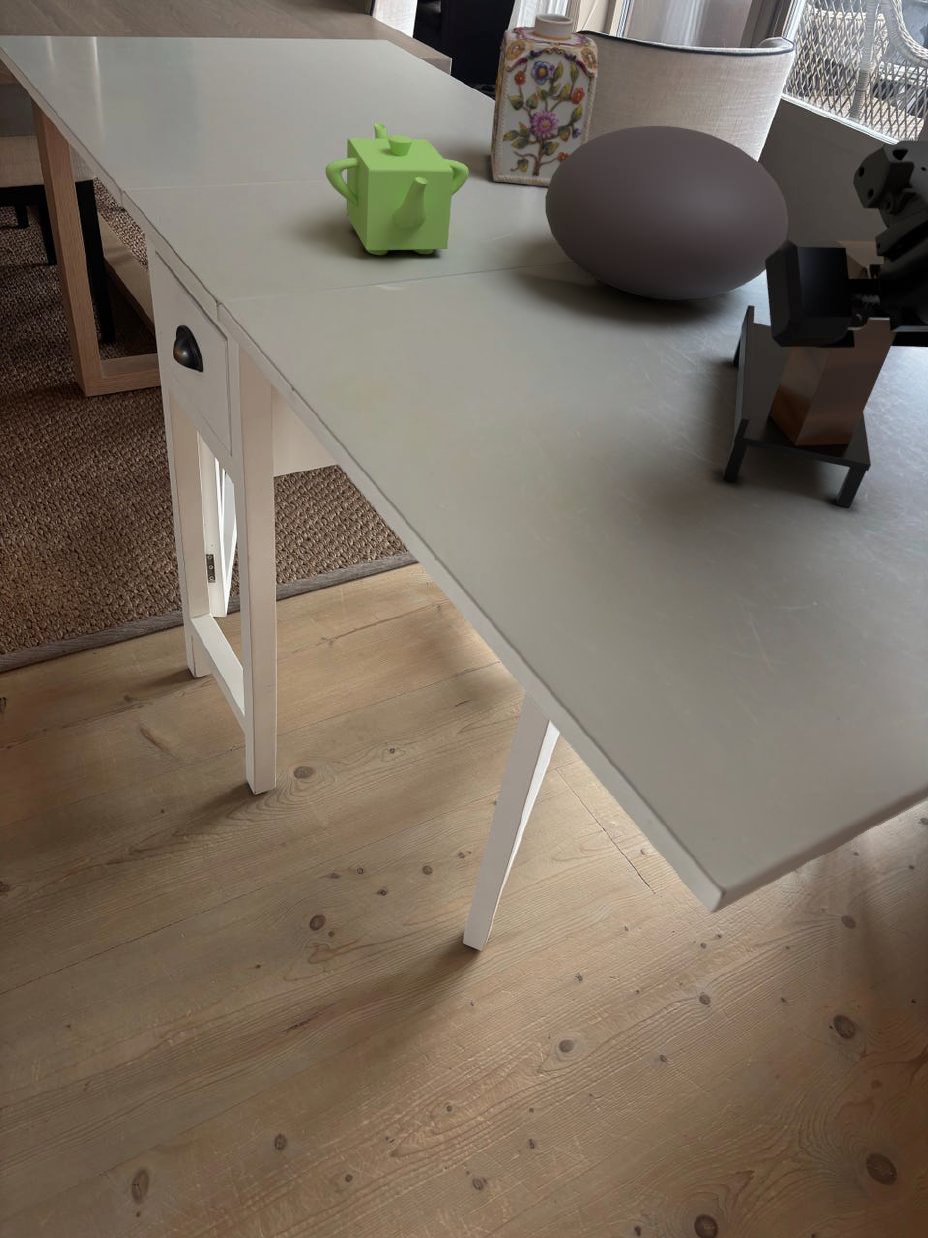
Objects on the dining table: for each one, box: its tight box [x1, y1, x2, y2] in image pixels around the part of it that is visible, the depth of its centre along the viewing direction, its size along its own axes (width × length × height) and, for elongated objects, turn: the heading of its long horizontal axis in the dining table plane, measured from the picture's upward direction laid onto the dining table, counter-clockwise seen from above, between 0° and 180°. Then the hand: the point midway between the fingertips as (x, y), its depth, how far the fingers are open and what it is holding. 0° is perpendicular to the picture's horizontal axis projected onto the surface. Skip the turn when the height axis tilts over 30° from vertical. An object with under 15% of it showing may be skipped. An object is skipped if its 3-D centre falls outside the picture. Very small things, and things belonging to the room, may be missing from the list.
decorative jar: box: [490, 13, 599, 188], centre depth 121 cm, size 12×12×18 cm
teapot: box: [324, 122, 470, 256], centre depth 100 cm, size 15×13×11 cm
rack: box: [722, 304, 872, 508], centre depth 79 cm, size 10×22×6 cm, turn 166°
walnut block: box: [769, 240, 897, 446], centre depth 68 cm, size 5×5×14 cm
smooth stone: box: [544, 125, 789, 301], centre depth 97 cm, size 25×25×15 cm
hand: (830, 338), depth 69 cm, fingers closed on walnut block, 5 cm apart
